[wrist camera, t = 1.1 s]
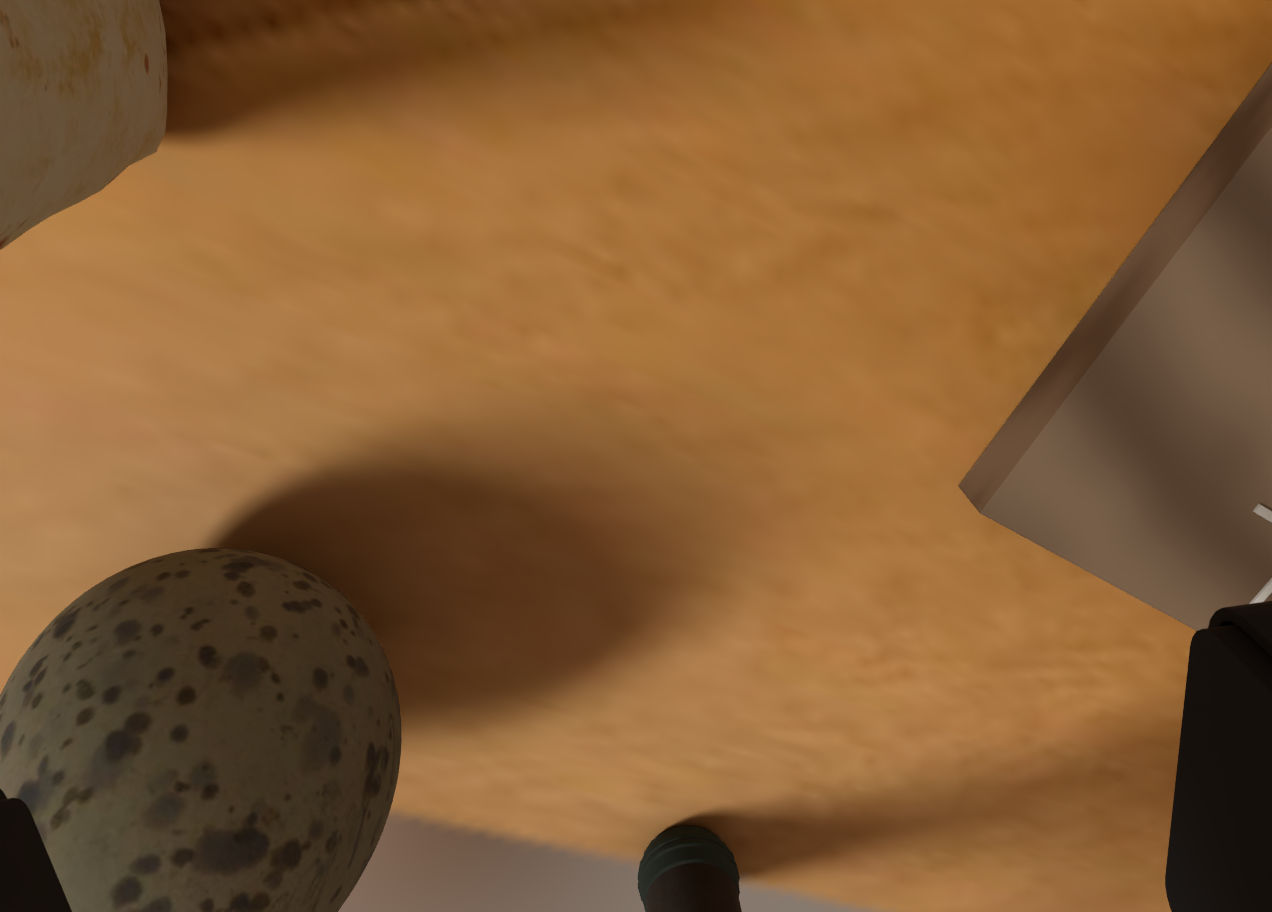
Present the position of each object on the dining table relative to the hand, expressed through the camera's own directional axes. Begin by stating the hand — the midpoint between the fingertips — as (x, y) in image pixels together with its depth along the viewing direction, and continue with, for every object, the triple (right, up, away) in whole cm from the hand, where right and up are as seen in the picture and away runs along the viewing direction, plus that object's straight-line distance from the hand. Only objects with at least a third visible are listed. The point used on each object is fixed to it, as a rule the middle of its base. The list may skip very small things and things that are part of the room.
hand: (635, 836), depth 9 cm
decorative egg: (-13, -2, +29) cm, 32 cm away
